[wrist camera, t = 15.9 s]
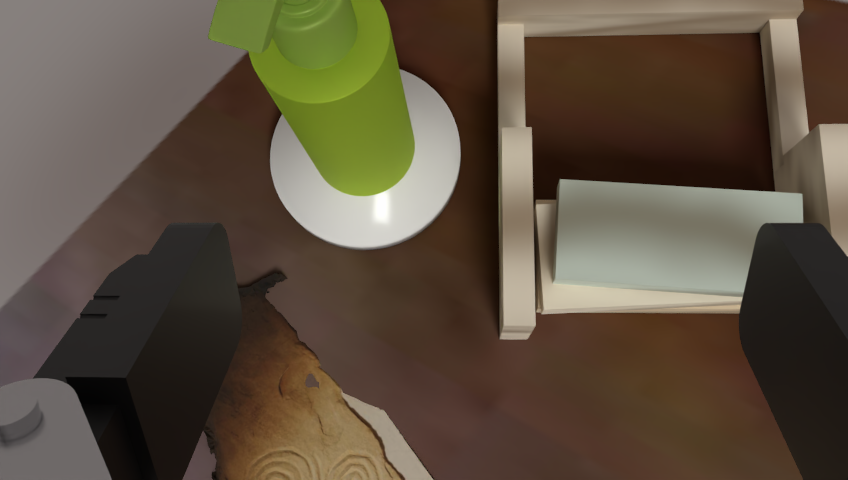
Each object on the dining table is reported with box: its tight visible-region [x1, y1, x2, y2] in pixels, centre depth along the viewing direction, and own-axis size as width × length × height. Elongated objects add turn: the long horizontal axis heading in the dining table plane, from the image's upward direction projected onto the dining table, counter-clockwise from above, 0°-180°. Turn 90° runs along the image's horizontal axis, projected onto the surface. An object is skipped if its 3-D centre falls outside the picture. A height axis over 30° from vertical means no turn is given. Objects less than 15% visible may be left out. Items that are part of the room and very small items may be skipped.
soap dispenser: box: [208, 0, 415, 196], centre depth 34 cm, size 6×7×20 cm
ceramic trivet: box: [270, 69, 461, 250], centre depth 44 cm, size 11×11×1 cm
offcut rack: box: [497, 0, 848, 339], centre depth 41 cm, size 20×17×6 cm
